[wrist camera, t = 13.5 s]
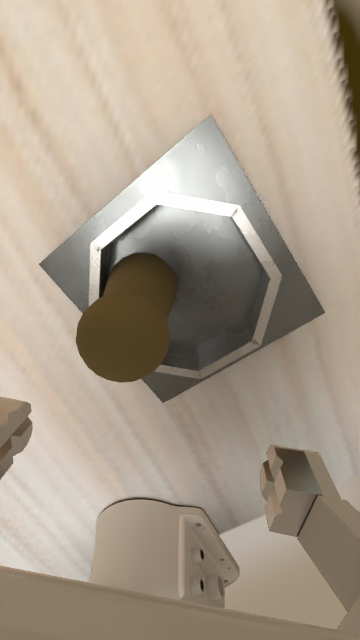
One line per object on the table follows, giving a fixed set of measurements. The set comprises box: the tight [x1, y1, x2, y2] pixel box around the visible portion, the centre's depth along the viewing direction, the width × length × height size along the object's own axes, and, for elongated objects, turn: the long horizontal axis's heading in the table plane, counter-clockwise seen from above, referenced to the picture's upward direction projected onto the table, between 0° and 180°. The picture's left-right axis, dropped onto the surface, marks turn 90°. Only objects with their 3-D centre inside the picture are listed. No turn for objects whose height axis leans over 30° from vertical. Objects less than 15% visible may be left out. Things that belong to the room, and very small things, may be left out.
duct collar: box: [39, 114, 325, 403], centre depth 24 cm, size 18×18×3 cm
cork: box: [76, 253, 177, 382], centre depth 19 cm, size 6×6×11 cm
